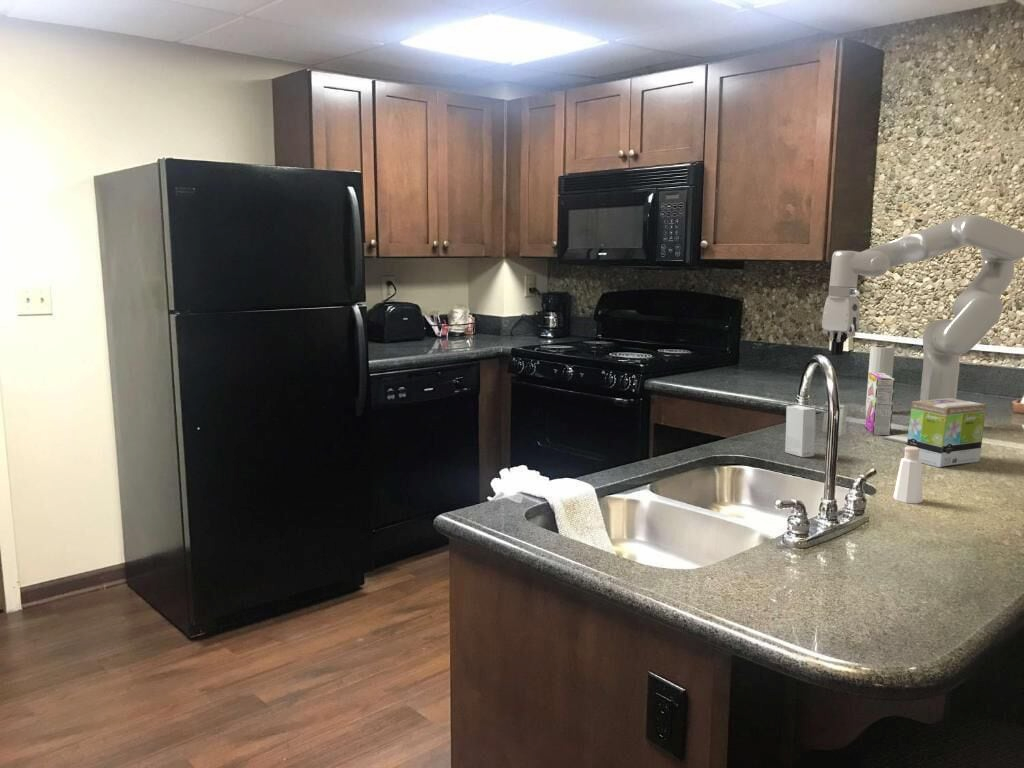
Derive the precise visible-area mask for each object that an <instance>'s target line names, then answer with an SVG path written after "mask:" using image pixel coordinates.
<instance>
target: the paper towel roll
mask: <svg viewBox="0 0 1024 768" xmlns="http://www.w3.org/2000/svg"><path fill="white" fill-rule="evenodd" d="M895 348H896V346H892V347H891V346H886V345H871V346H870V349H869V362H868V373H886V374H887V375H889V376H890V377H892V378H893V374H894V373H893V371H894V363H895V362H894V360H895ZM866 388H868V384H867V387H866ZM866 403H867V397H866V400H865V404H866Z"/></svg>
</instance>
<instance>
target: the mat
mask: <svg viewBox="0 0 1024 768" xmlns="http://www.w3.org/2000/svg"><path fill="white" fill-rule="evenodd" d="M882 438H883V440H886V439H887V440H888V441H891V440H892V441H891V442H895V441H898V442H897V443H899V442H903V443H902V444H904V443H907V441H908V432H907V433H901V434H894V435H890V436H881V439H882Z"/></svg>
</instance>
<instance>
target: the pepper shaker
mask: <svg viewBox="0 0 1024 768" xmlns="http://www.w3.org/2000/svg"><path fill="white" fill-rule="evenodd" d="M919 451H920V449H919V448H917V447H912V446H907V445H906V446H905V447H904V456H903V458H901V459H900V461H899V467H898V472H897V477H896V483H895V486H894V492H893V499H894V501H897V502H900V503H905V504H912V505H913V504H915V505H917V504H920V503H922V502H923V474H922V473H923V472H922V471H923V469H922V463H921V461H920V460H919V459H918V458H919V457H918V456H919Z"/></svg>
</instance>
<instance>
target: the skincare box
mask: <svg viewBox="0 0 1024 768" xmlns="http://www.w3.org/2000/svg"><path fill="white" fill-rule="evenodd" d="M816 410H817V409H816V408H813V407H808V406H804V405H798V404H796V405H789V406H786V410H785V411H786V412H785V414H786V415H785V416H786V417H785V421H786V422H785V446H784V449H785V450H784V451H785V454H786V453H787V454H790V455H794V456H797V457H801V458H810V457H814V456H815V441H816V440H815V439H816V438H815V437H816V414H817V413H816V412H817V411H816Z"/></svg>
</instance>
